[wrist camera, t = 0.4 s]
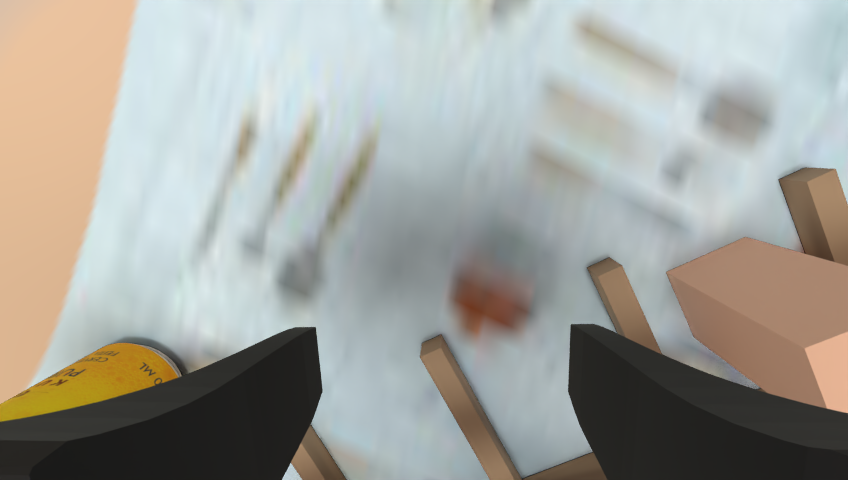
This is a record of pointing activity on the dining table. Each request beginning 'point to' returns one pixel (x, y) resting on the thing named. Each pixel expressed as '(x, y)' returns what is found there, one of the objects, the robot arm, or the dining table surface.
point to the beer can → (94, 380)
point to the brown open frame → (819, 233)
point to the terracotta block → (772, 318)
